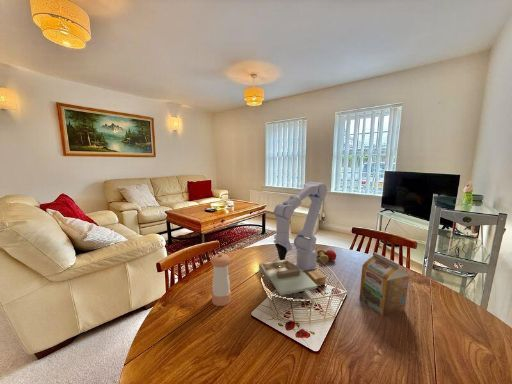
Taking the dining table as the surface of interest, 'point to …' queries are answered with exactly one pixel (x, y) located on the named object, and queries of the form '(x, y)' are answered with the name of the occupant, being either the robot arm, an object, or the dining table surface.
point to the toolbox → (275, 268)
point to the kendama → (326, 255)
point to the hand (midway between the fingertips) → (282, 259)
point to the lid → (291, 281)
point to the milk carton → (383, 285)
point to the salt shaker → (221, 280)
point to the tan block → (317, 277)
